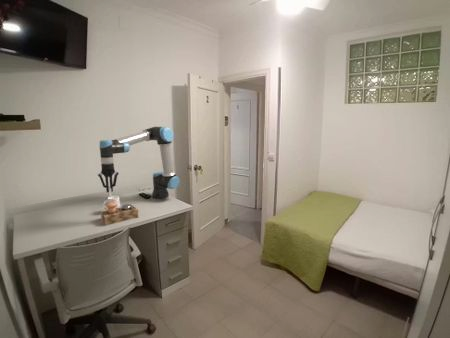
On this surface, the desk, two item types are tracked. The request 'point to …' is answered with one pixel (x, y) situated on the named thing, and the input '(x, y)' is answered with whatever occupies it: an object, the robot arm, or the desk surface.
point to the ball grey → (126, 207)
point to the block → (119, 215)
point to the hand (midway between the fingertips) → (110, 196)
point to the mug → (113, 199)
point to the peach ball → (111, 207)
